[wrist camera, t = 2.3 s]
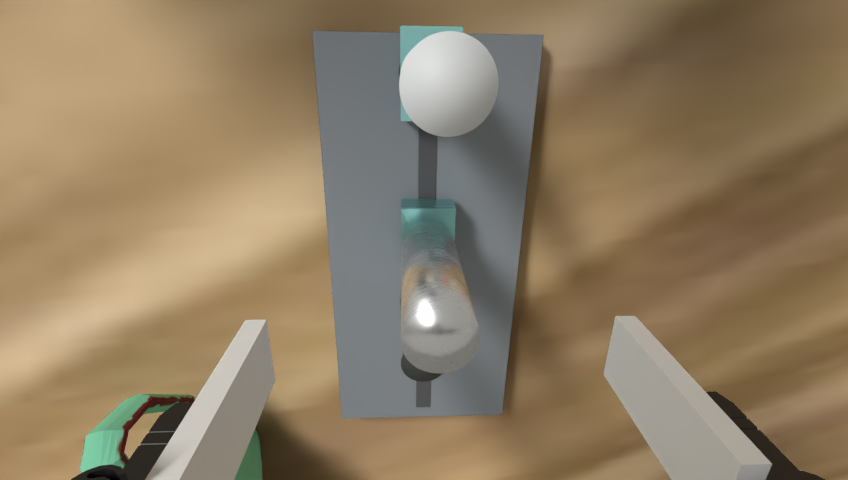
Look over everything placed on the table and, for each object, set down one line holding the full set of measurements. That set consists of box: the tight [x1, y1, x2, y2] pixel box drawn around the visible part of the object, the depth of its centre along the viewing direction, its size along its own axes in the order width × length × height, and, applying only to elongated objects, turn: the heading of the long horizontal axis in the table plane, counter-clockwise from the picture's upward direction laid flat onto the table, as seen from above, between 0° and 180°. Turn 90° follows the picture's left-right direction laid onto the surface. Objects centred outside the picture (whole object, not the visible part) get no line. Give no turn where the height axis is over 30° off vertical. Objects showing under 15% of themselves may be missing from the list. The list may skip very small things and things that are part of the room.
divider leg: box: [401, 199, 481, 373], centre depth 21 cm, size 4×3×11 cm
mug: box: [80, 394, 262, 480], centre depth 29 cm, size 15×10×10 cm
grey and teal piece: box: [312, 25, 544, 418], centre depth 23 cm, size 26×12×12 cm, turn 179°
